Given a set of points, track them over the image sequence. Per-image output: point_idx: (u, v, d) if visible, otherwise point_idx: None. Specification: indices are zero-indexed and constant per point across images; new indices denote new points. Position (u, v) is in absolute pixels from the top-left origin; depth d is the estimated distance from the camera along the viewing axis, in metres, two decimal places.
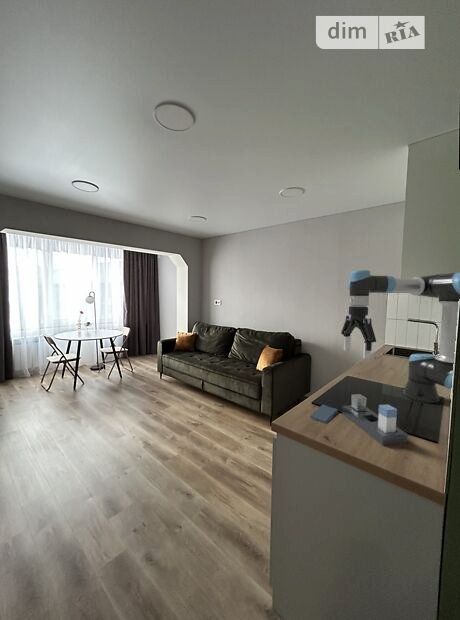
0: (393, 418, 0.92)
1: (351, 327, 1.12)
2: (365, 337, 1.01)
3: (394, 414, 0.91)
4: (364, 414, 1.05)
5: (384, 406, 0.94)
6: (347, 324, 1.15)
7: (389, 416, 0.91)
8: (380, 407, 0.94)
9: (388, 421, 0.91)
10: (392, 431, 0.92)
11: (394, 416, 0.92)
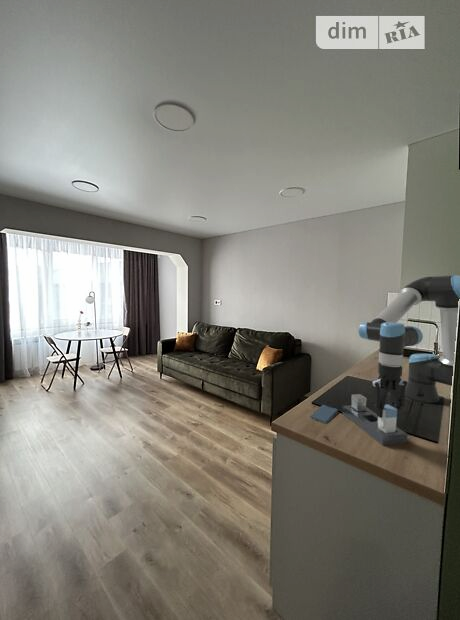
0: (393, 418, 0.92)
1: (391, 390, 0.94)
2: None
3: (394, 414, 0.91)
4: (364, 414, 1.05)
5: (384, 406, 0.94)
6: (398, 389, 0.94)
7: (389, 416, 0.91)
8: None
9: (388, 421, 0.91)
10: (392, 431, 0.92)
11: (394, 416, 0.92)
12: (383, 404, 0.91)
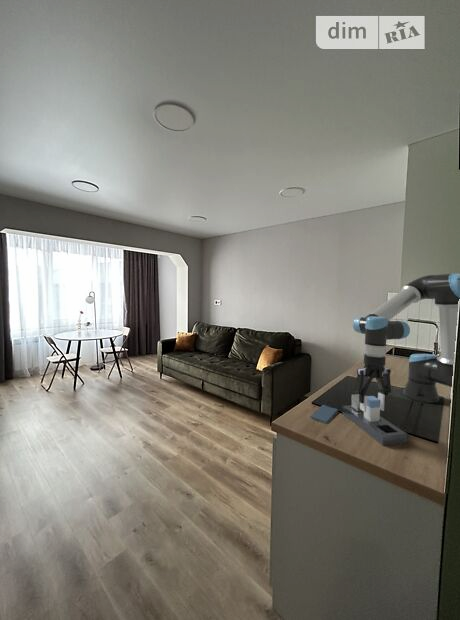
0: (377, 408, 0.99)
1: (377, 379, 1.01)
2: None
3: (378, 404, 0.99)
4: None
5: (369, 397, 1.02)
6: (384, 377, 1.02)
7: (373, 406, 0.99)
8: None
9: (372, 411, 0.99)
10: (376, 420, 1.00)
11: (378, 406, 0.99)
12: (365, 391, 0.99)
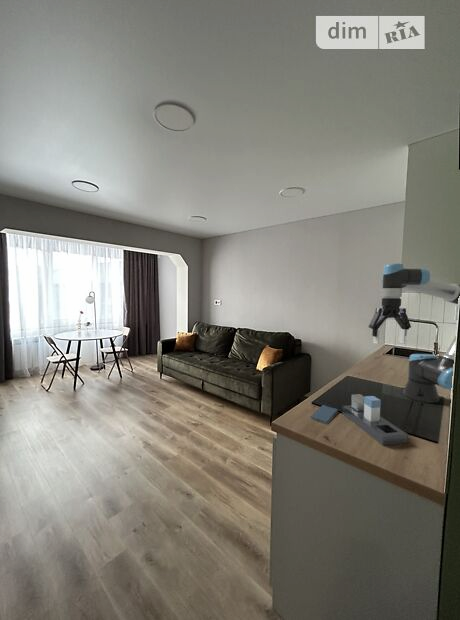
0: (377, 408, 0.99)
1: (395, 318, 1.16)
2: None
3: (378, 404, 0.99)
4: None
5: (369, 397, 1.02)
6: (402, 316, 1.16)
7: (373, 406, 0.99)
8: (366, 398, 1.02)
9: (373, 411, 0.99)
10: (376, 420, 1.00)
11: (378, 406, 0.99)
12: (378, 326, 1.13)
